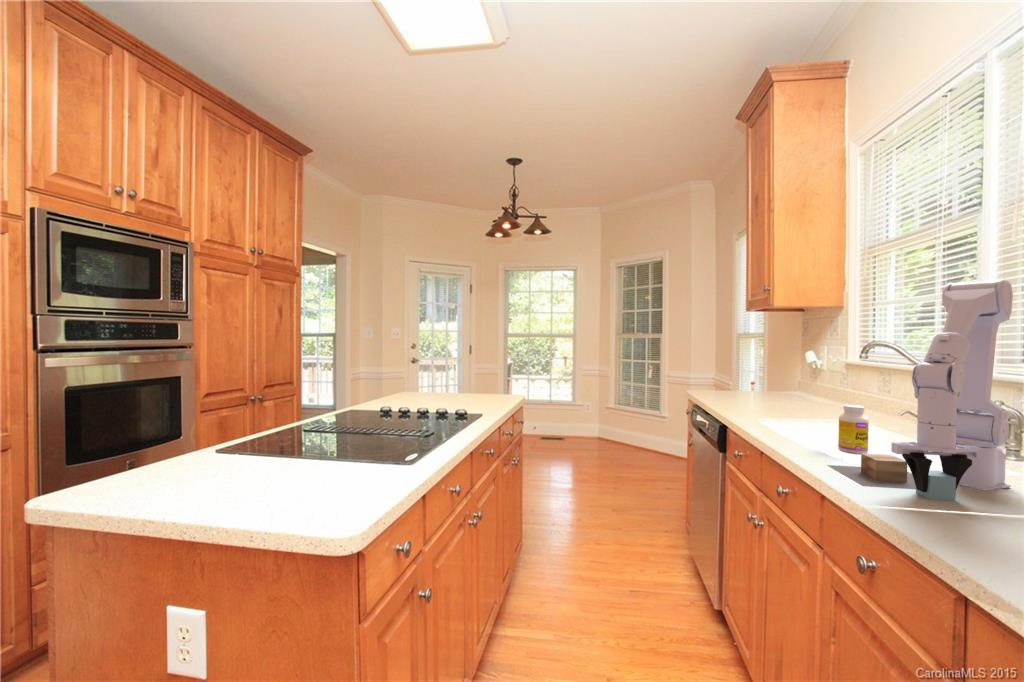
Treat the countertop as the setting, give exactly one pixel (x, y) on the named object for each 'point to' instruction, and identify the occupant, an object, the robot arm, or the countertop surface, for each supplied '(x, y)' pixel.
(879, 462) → the slab top
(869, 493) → the countertop surface
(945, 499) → the blue block
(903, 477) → the slab bottom
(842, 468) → the mat
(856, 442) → the supplement bottle
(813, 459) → the countertop surface
